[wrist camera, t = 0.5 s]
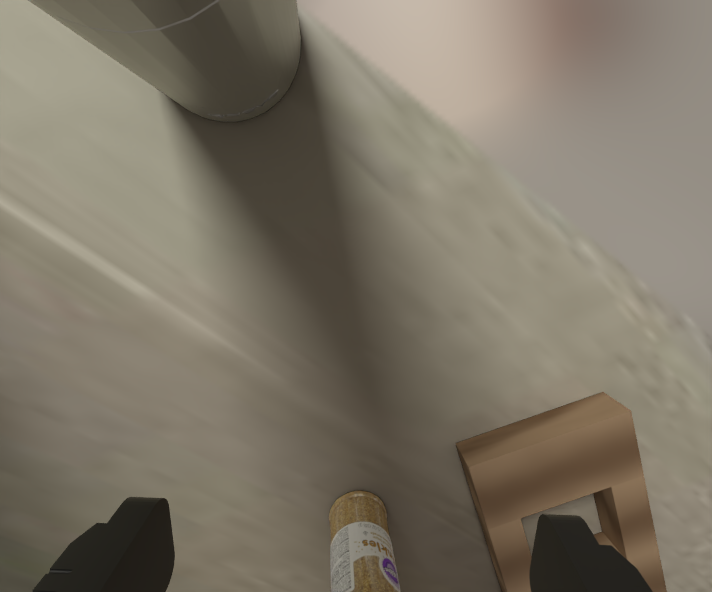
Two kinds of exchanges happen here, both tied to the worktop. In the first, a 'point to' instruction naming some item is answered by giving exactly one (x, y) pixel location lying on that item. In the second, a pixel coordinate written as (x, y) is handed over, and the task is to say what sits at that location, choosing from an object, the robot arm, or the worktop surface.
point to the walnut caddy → (562, 483)
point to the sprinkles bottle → (361, 545)
